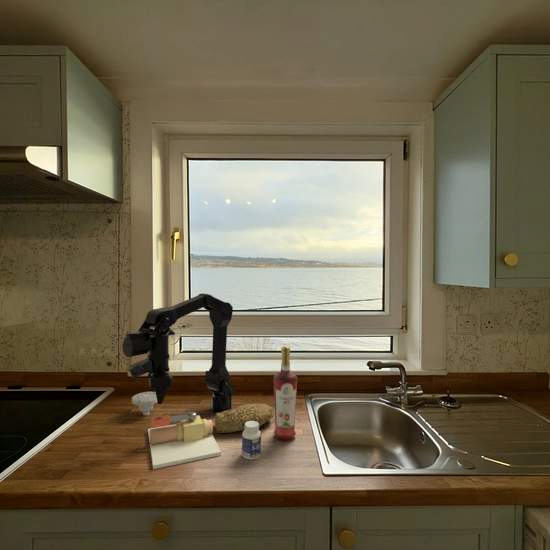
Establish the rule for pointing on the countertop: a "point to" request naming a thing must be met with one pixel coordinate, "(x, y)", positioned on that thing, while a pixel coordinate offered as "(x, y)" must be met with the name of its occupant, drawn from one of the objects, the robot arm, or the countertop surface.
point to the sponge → (242, 417)
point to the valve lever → (172, 419)
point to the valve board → (182, 442)
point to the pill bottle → (251, 440)
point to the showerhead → (145, 401)
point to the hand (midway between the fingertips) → (159, 400)
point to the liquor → (285, 398)
